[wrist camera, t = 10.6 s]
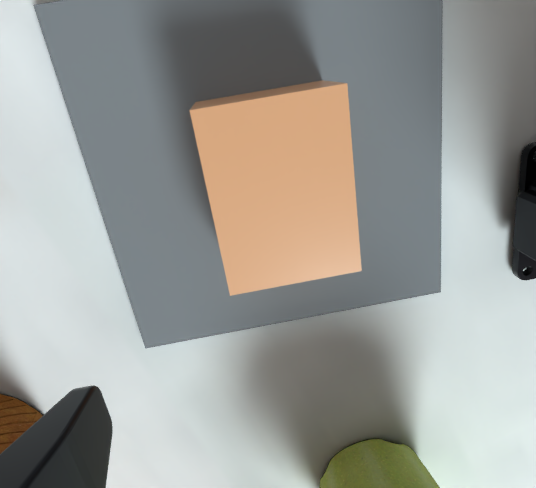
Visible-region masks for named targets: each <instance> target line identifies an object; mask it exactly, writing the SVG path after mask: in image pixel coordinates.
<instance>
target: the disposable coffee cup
mask: <svg viewBox="0 0 536 488" xmlns="http://www.w3.org/2000/svg"><path fill="white" fill-rule="evenodd" d="M41 417H42V415H41V414H40V413H39V412H38V411H37V410H36V409H34V408H32V407H31V406H29V405H28V404H26V403H24V402H23V401H20V400H18V399H16V398H13V397H10V396H6V395H3V394H0V454H1V453H2V452H3V451H4V450H5V449H6V448H8V447H9V446H10V445H11V444H12V443H13V442H14V441H15V440H16V439H18V438H19V437H20V436H21V435H22V434H23V433H24V432H25V431H27V430H28V429H29V428H30V427H31V426H32V425H33V424H34V423H36V422H37V421H38V420H39V419H40V418H41Z"/></svg>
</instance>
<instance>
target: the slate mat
mask: <svg viewBox="0 0 536 488" xmlns="http://www.w3.org/2000/svg"><path fill="white" fill-rule="evenodd" d="M34 8H35V11H36V14H37V17H38V20H39V23H40V26H41V29H42V32H43V35H44V39H45V42H46V45H47V48H48V51H49V54H50V57H51V60H52V63H53V66H54V69H55V72H56V75H57V78H58V81H59V85H60V88H61V91H62V94H63V97H64V100H65V103H66V106H67V109H68V112H69V115H70V118H71V121H72V124H73V127H74V131H75V134H76V137H77V140H78V143H79V146H80V149H81V152H82V155H83V158H84V161H85V164H86V167H87V170H88V174H89V177H90V180H91V183H92V186H93V189H94V192H95V195H96V198H97V201H98V204H99V207H100V210H101V213H102V216H103V220H104V223H105V226H106V229H107V232H108V235H109V238H110V241H111V244H112V247H113V250H114V253H115V256H116V259H117V262H118V266H119V269H120V272H121V275H122V278H123V281H124V284H125V287H126V290H127V293H128V296H129V299H130V302H131V305H132V308H133V312H134V315H135V318H136V321H137V324H138V327H139V330H140V333H141V336H142V339H143V342H144V345H145V348H150V347H155V346H161V345H166V344H171V343H176V342H182V341H187V340H192V339H197V338H202V337H208V336H213V335H218V334H223V333H229V332H234V331H239V330H244V329H250V328H255V327H260V326H265V325H271V324H276V323H281V322H286V321H292V320H297V319H302V318H307V317H312V316H318V315H323V314H328V313H333V312H339V311H344V310H349V309H354V308H360V307H365V306H370V305H375V304H381V303H386V302H391V301H396V300H401V299H407V298H412V297H417V296H422V295H428V294H433V293H438V292H441V147H442V0H62V1H55V2H49V3H43V4H37V5H34ZM321 80H324V81H333V82H341V83H347V85H348V98H349V112H350V125H351V138H352V151H353V164H354V177H355V190H356V203H357V216H358V229H359V242H360V255H361V268H362V271H359V272H354V273H348V274H343V275H338V276H332V277H327V278H322V279H316V280H311V281H306V282H301V283H295V284H290V285H285V286H279V287H274V288H269V289H263V290H258V291H253V292H248V293H242V294H237V295H232V296H230V293H229V289H228V284H227V279H226V275H225V270H224V266H223V261H222V257H221V252H220V247H219V243H218V238H217V234H216V229H215V225H214V220H213V215H212V211H211V206H210V202H209V197H208V193H207V188H206V183H205V179H204V174H203V170H202V165H201V160H200V156H199V151H198V147H197V142H196V138H195V133H194V128H193V124H192V119H191V115H190V109H191V108H192V106H193V105H194V104H195V102H199V101H205V100H211V99H216V98H222V97H228V96H234V95H240V94H245V93H251V92H257V91H263V90H269V89H275V88H280V87H286V86H292V85H298V84H304V83H310V82H315V81H321Z"/></svg>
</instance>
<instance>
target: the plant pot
mask: <svg viewBox="0 0 536 488" xmlns="http://www.w3.org/2000/svg"><path fill="white" fill-rule="evenodd" d="M320 488H440V487H439V486H438V485H437V483H436V482H435V480H434V479H433V477H432V476H431V474H430V473H429V472H428V470H427V469H426V467H425V466H424V465H423V463H422V462H421V460H420V459H419V458H418V456H417V455H416V453H415V452H414V451H413V450H412V449H411V448H409V447H408V446H406V445H404V444H401V445H399V444H394V443H391V442H387V441H384V440H382V439H371V440H366V441H362V442H358V443H356V444H353V445H351V446H349V447H347V448H345V449H343V450H342V451H340V452H339V453H338V454H336V455H335V456H334V457H333V458H332V459H331V461H330V463H329V465H328V467H327V470H326V472H325V473H324V475H323V477H322V478H321V479H320Z"/></svg>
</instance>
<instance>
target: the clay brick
mask: <svg viewBox="0 0 536 488" xmlns="http://www.w3.org/2000/svg"><path fill="white" fill-rule="evenodd" d="M190 115H191V119H192V124H193V128H194V133H195V138H196V142H197V147H198V151H199V156H200V160H201V165H202V170H203V174H204V179H205V183H206V188H207V193H208V197H209V202H210V206H211V211H212V215H213V220H214V225H215V229H216V234H217V238H218V243H219V247H220V252H221V257H222V261H223V266H224V270H225V275H226V279H227V284H228V289H229V293H230V296H232V295H237V294H242V293H248V292H253V291H258V290H263V289H269V288H274V287H279V286H285V285H290V284H295V283H301V282H306V281H311V280H316V279H322V278H327V277H332V276H338V275H343V274H348V273H354V272H359V271H362V268H361V255H360V242H359V229H358V216H357V203H356V190H355V177H354V164H353V151H352V138H351V125H350V112H349V98H348V85H347V83H341V82H333V81H324V80H321V81H315V82H310V83H304V84H298V85H292V86H286V87H280V88H275V89H269V90H263V91H257V92H251V93H245V94H240V95H234V96H228V97H222V98H216V99H211V100H205V101H199V102H195V104H194V105H193V106H192V108H191V109H190Z"/></svg>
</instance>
